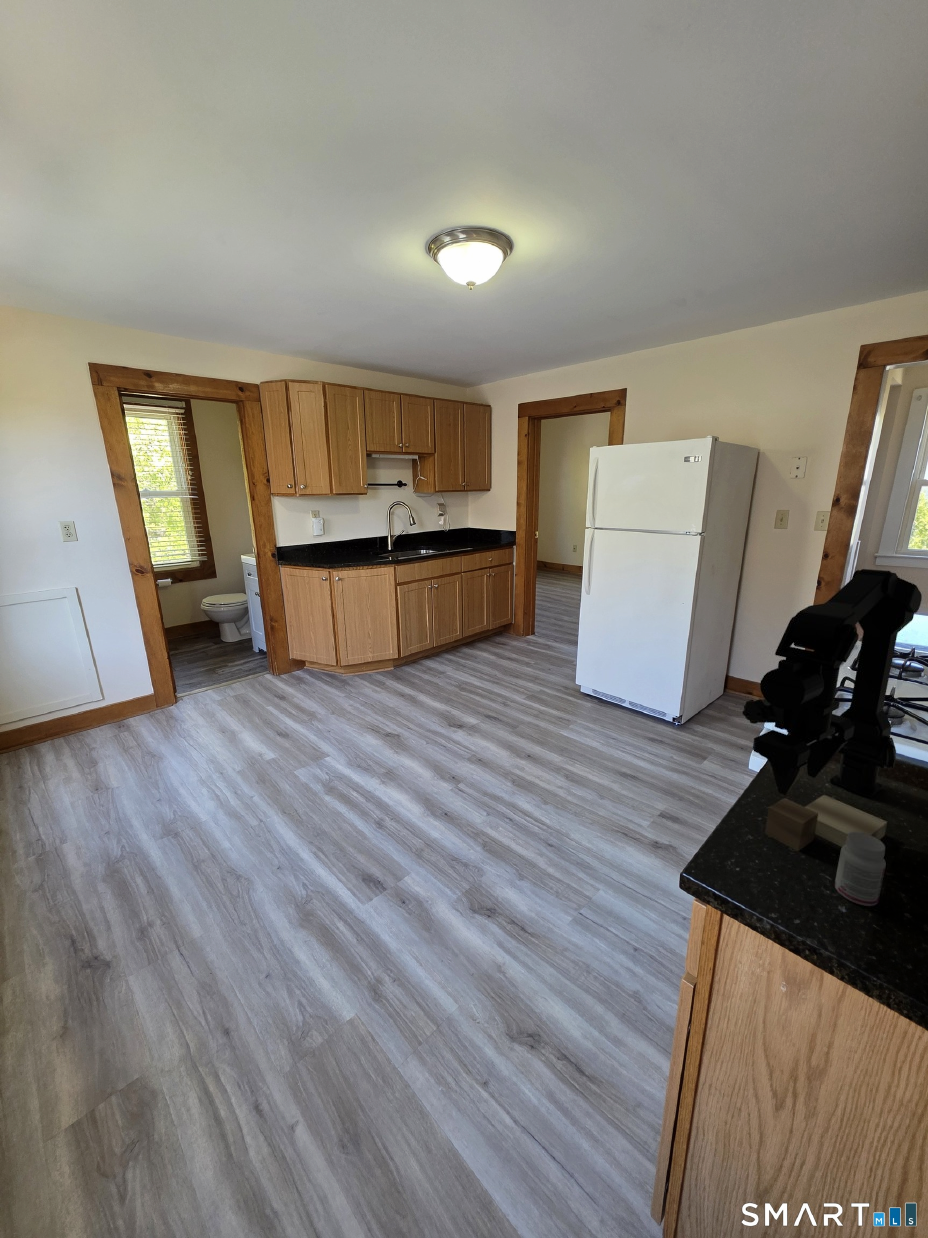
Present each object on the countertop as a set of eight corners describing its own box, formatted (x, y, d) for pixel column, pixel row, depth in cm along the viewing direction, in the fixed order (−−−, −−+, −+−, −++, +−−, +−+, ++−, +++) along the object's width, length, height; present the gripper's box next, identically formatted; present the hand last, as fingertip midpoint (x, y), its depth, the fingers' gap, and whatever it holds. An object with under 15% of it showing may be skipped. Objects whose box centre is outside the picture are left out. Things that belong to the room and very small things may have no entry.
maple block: (821, 809, 86) (824, 794, 85) (884, 838, 78) (887, 821, 78) (796, 826, 81) (798, 811, 81) (859, 858, 74) (862, 841, 73)
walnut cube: (780, 824, 82) (784, 798, 80) (813, 840, 77) (818, 813, 76) (764, 834, 79) (768, 807, 78) (797, 851, 75) (802, 823, 74)
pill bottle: (886, 910, 64) (898, 855, 62) (846, 904, 65) (856, 850, 63) (865, 883, 68) (875, 832, 66) (827, 879, 69) (836, 828, 67)
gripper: (786, 668, 84) (775, 749, 88) (724, 689, 75) (714, 778, 78) (862, 687, 75) (846, 776, 78) (803, 713, 66) (787, 814, 69)
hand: (797, 784), depth 76 cm, fingers open, 9 cm apart
